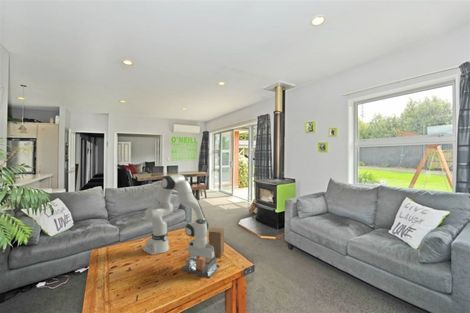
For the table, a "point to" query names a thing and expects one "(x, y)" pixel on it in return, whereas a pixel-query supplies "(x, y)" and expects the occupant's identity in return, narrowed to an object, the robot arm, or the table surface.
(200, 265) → the rust block
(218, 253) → the wooden block
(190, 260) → the sliding jaw
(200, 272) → the vise base
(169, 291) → the table surface
